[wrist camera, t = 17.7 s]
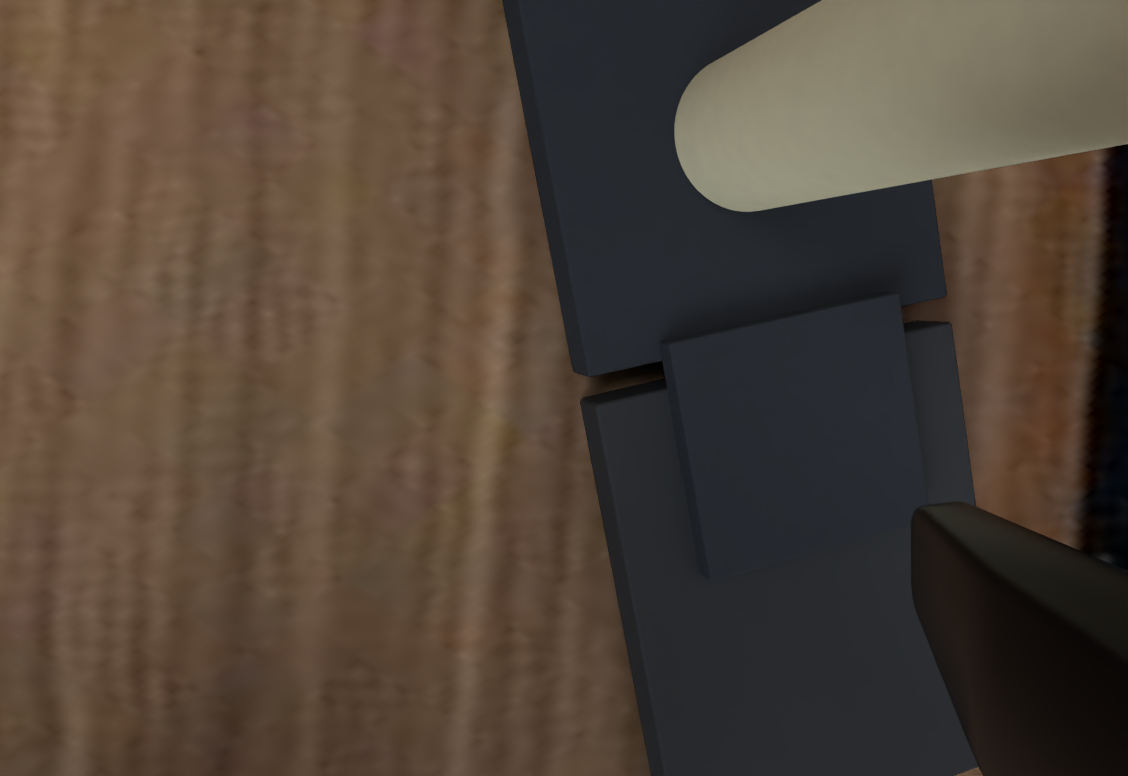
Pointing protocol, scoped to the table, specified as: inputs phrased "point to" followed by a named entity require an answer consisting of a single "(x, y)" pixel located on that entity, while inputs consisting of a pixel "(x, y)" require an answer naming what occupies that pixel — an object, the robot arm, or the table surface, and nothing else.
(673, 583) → the base pad
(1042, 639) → the robot arm
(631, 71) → the tongue pad
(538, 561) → the table surface
